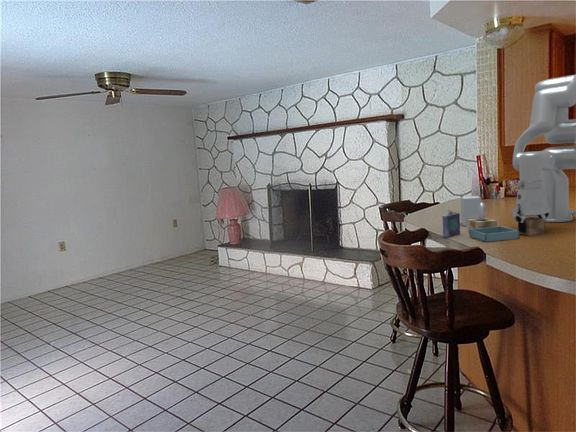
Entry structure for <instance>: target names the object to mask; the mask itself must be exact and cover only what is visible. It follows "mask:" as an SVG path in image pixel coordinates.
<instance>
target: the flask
mask: <svg viewBox="0 0 576 432" xmlns="http://www.w3.org/2000/svg"><path fill="white" fill-rule="evenodd" d="M447 212H448V214H447V213H446V214H443V215H442V217H441V218H442V237H443V238H450V237H451V238H452V237H455V236H459V235H461V230H460V228H461V223H460V222H461V221H460V220H461V219H460V218H461V217H460V216H461V214H460V213H461V212H457V211H453V210H452V209H448V210H447Z"/></svg>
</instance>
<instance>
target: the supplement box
mask: <svg viewBox="0 0 576 432" xmlns="http://www.w3.org/2000/svg"><path fill="white" fill-rule="evenodd" d="M478 203H482V197H481V196H478V195H474V196H473V195H472V196H461V197H460V210H461V211H460V213H461V214H460V216H461V217H460V218H461V224H462V225H463V226H464V227H468V220H469V219H478Z"/></svg>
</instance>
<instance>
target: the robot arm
mask: <svg viewBox="0 0 576 432" xmlns="http://www.w3.org/2000/svg"><path fill="white" fill-rule="evenodd" d="M534 93H535V94H534V96H533V100H532V107H531V114H530V119H529V126H528V128H526V129H525V130H524V131H523V132H522V133H521V134H520V136H519V137H518V138H517V140H516V141H515V144H514V149H513V154H512V167H513V169H515V171H516V172H517V171H518V172H519V183H517V184H516V186H517V188H519V189H518V190H517V196H516V205H515V208H514V209H513V210H512V211H511V212H510V215H511V217H513V218H514V220H515V221H516V222H517V228H518V229H517V230H518V231H519V232H522V233H525V223H524V220H525V218H526V217H535V216H537V218H543V219H544V228H546V227H545V226H546V225H545V223H548V222H549V223H564V222H565V223H566V222H567V223H568V222H571V221H573V220H574V217H573V216H572V215H576V209H572V208H570V207H569V203H570V202H569V201H570V199H569V197H570V196H569V193H570V192H569V191H570V189H569V187H570V186H569V184H570V182H569V181H570V180H569V178H568V176H567V174H566V173H565V172H564V171H563V170H575V169H576V118H573V119H569V108H571V107H573V106H575V105H576V74H572V75H571V74H570V75H566V76H560V77H552V78H549V79H547V78H546V79H545V80H541V81H539V82H537V83H536V84H535V86H534ZM543 135H544V141H545V142H546V143H547V144H550V145H551V144H553V145H559V144H571V143H574V144H575V145H567V146H563V145H562V146H552V147H548V148H545V149H543V150H538V151H537V150H536V151H535V150H534V151H533V150H532V151H525V148H526V147H527V145H528V144H529V143H530V142H532V141H534V140H535V139H536V138H539V137H540V136H543Z"/></svg>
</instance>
